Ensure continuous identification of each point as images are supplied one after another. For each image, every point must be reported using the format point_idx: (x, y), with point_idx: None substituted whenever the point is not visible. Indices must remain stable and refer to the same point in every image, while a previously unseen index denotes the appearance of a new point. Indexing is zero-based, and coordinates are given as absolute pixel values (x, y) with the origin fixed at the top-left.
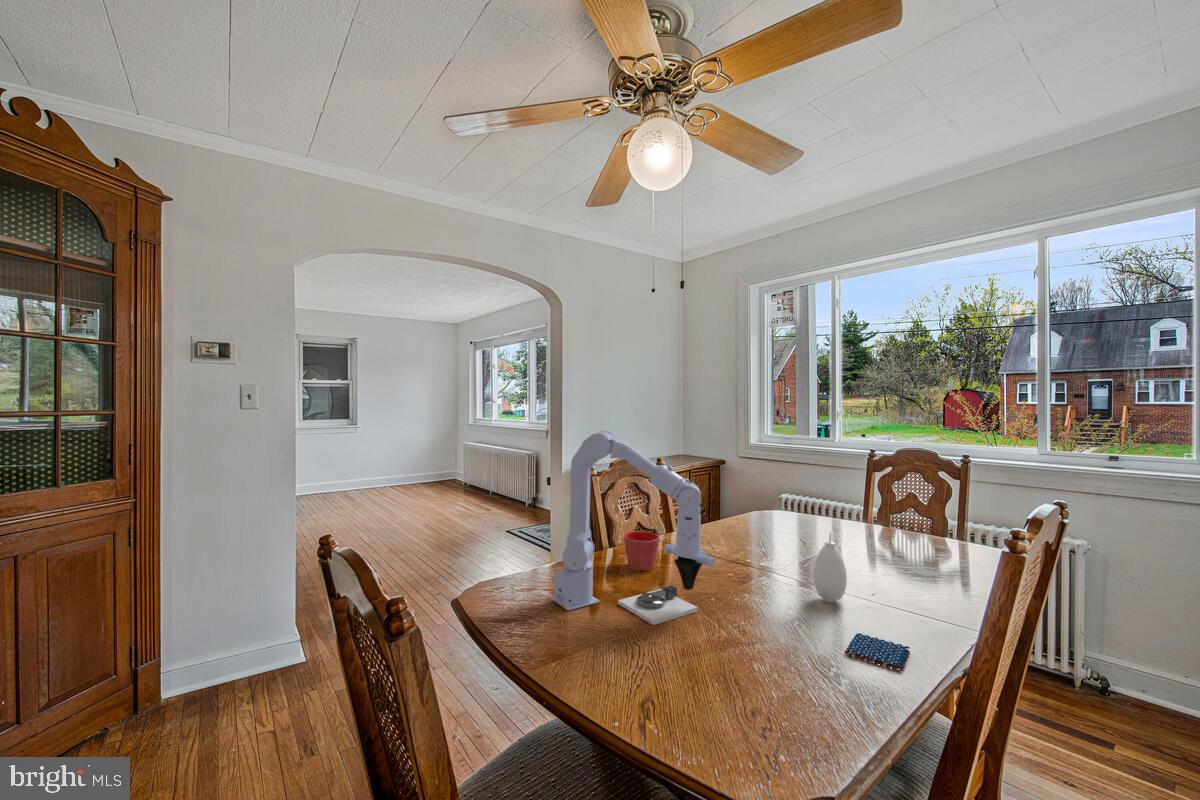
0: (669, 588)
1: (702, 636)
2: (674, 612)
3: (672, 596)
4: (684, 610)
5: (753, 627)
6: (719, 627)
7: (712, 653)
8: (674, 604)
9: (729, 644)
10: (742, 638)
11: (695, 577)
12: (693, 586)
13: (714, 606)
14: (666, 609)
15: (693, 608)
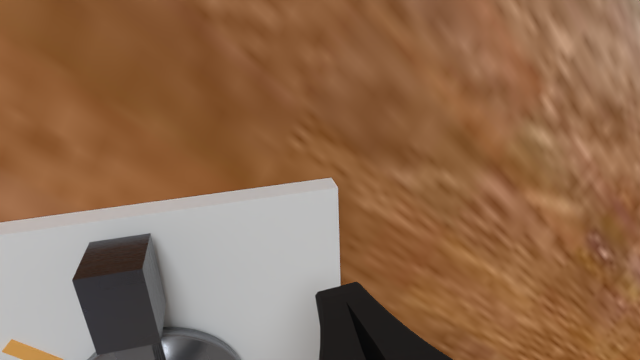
0: (134, 321)
1: (516, 296)
2: None
3: (159, 272)
4: (331, 274)
5: (626, 35)
6: (516, 189)
7: (603, 324)
8: (236, 284)
9: (616, 242)
10: (632, 166)
11: (408, 333)
12: (365, 290)
13: (328, 28)
14: (272, 346)
15: (337, 218)
